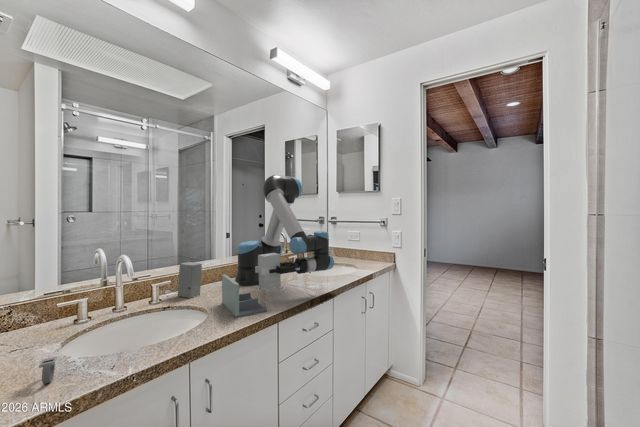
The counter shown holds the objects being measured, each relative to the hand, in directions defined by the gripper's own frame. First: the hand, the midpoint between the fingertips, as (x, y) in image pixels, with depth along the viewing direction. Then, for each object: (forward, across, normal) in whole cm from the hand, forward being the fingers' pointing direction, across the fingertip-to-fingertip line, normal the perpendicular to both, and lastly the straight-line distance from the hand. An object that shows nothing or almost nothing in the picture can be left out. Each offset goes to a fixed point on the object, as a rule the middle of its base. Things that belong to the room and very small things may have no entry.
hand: (258, 270), depth 122 cm
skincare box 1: (+23, +31, -15) cm, 42 cm away
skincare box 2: (-5, 0, -8) cm, 10 cm away
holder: (+6, 0, -15) cm, 16 cm away
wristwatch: (+62, -25, -15) cm, 69 cm away
